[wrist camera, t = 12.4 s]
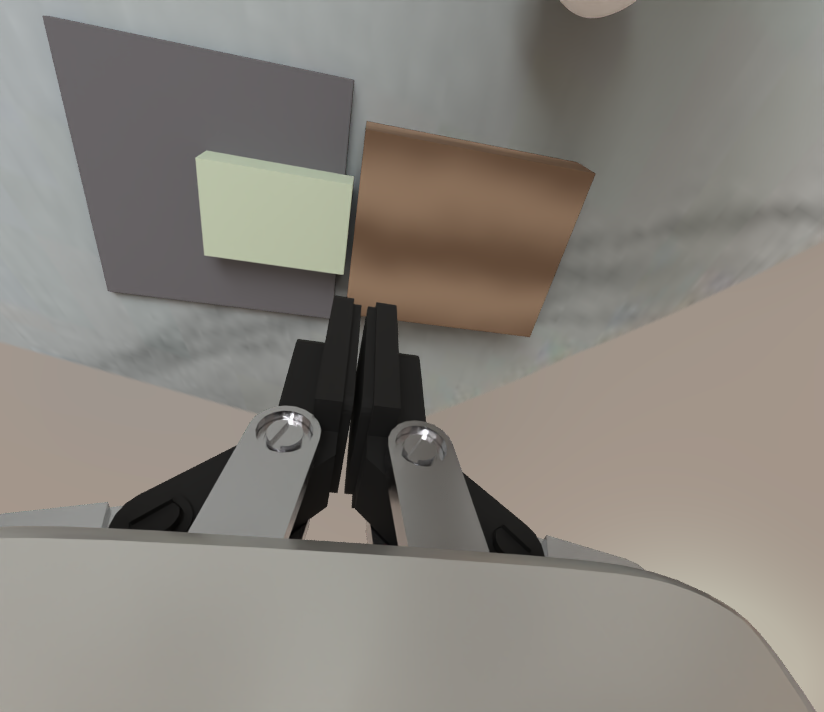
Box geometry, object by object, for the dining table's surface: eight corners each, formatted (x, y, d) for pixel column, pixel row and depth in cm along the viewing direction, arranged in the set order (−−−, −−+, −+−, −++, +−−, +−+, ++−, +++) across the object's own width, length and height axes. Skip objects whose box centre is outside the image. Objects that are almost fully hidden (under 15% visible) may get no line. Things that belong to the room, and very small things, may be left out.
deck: (366, 121, 27) (365, 129, 24) (577, 162, 29) (595, 173, 27) (347, 294, 34) (345, 314, 31) (519, 317, 36) (529, 336, 33)
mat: (49, 16, 23) (42, 15, 23) (353, 79, 26) (353, 80, 25) (111, 287, 32) (107, 291, 32) (332, 314, 35) (331, 318, 34)
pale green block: (213, 243, 30) (204, 255, 29) (206, 150, 27) (195, 157, 25) (345, 262, 32) (343, 274, 30) (354, 176, 28) (352, 184, 27)
